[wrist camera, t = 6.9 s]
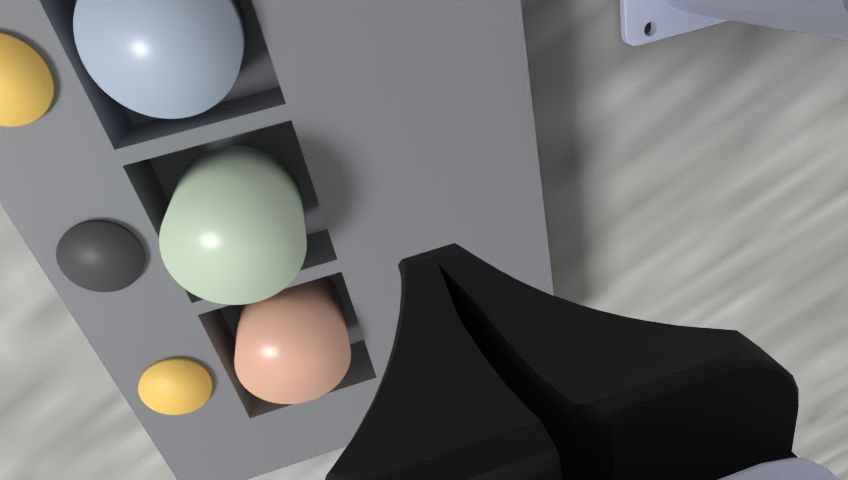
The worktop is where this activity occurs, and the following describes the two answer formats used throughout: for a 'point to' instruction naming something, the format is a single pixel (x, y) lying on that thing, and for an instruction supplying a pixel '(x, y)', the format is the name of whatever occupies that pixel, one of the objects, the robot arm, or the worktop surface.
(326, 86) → the console
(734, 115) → the worktop surface
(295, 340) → the button terracotta
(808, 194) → the worktop surface
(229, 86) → the button slate
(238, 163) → the button sage
